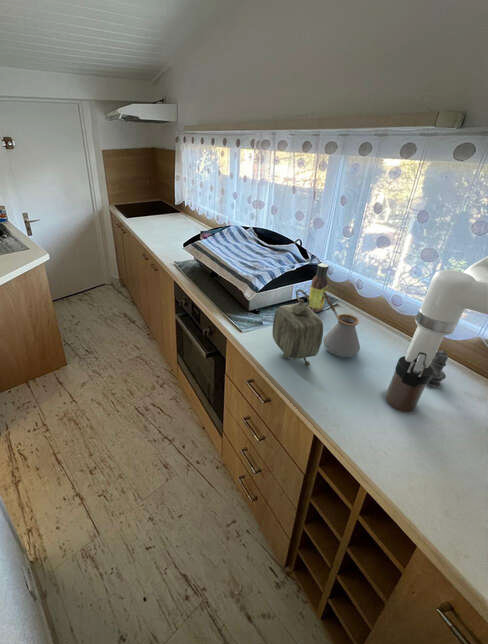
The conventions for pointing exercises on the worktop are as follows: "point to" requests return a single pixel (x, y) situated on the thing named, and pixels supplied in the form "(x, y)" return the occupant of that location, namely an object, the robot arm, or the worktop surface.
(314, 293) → the sauce bottle
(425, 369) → the jar lid
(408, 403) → the jar
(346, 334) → the coffee pot
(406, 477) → the worktop surface
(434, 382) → the grey stepped cylinder
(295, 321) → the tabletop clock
